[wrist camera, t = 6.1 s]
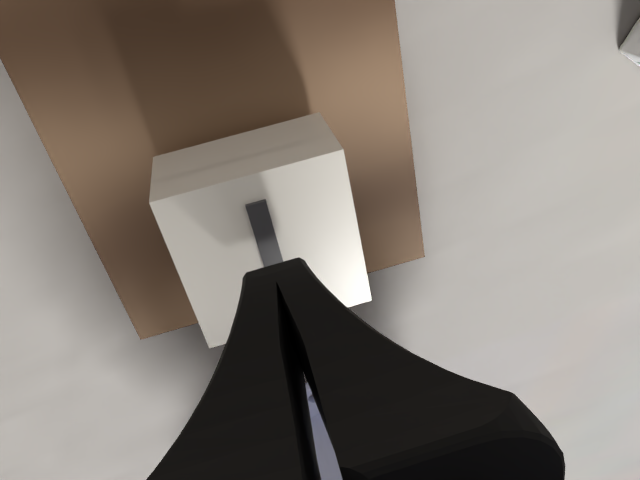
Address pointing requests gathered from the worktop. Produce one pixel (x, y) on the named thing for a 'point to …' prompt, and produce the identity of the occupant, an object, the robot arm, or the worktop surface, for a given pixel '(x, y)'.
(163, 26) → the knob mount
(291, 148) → the white square block
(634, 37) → the syrup box
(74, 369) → the worktop surface
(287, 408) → the robot arm
